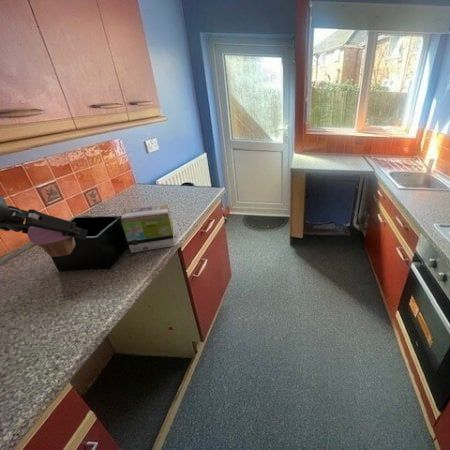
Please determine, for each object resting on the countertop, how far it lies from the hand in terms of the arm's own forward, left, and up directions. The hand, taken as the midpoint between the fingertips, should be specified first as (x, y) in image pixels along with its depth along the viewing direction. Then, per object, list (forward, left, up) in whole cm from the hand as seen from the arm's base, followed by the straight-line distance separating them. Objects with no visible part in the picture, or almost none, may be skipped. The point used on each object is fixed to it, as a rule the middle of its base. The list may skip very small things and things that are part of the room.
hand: (67, 234), depth 68 cm
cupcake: (0, -3, -4) cm, 5 cm away
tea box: (+6, +25, -19) cm, 32 cm away
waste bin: (-9, +15, -19) cm, 26 cm away
